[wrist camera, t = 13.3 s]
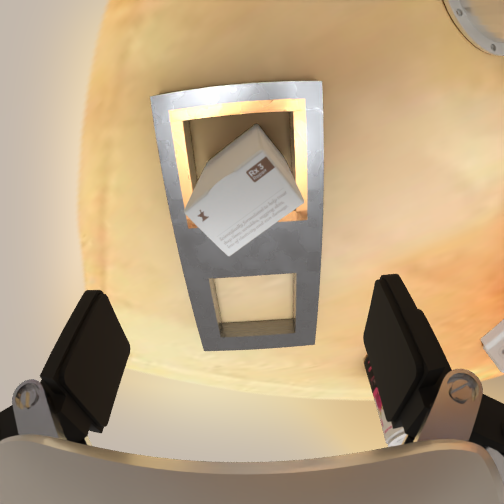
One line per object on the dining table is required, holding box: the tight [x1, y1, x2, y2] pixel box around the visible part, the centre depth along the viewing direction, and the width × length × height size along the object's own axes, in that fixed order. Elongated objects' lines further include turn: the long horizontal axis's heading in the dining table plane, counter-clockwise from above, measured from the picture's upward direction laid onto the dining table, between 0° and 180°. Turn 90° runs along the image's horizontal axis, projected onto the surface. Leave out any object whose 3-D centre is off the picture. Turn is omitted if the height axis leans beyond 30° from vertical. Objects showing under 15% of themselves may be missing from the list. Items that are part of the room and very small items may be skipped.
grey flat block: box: [150, 81, 324, 351], centre depth 31 cm, size 30×14×3 cm, turn 4°
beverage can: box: [364, 357, 407, 447], centre depth 38 cm, size 6×6×15 cm
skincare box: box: [184, 124, 304, 256], centre depth 23 cm, size 6×4×12 cm
